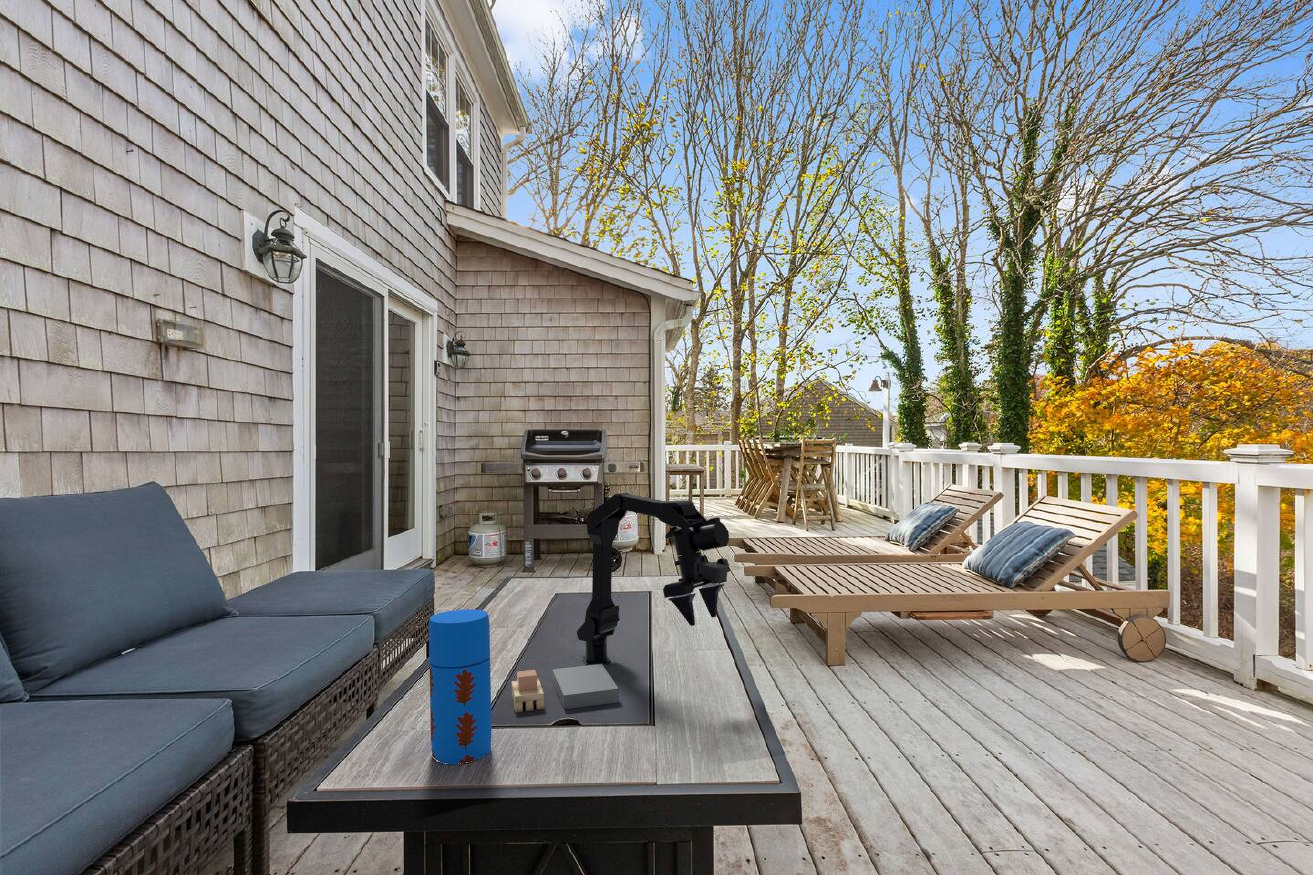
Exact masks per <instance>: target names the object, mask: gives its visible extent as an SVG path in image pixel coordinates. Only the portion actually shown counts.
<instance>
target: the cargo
mask: <svg viewBox="0 0 1313 875" xmlns="http://www.w3.org/2000/svg"><path fill="white" fill-rule="evenodd" d="M537 678H538V674H537V671H536V669H530V670H521V671H519V670H517V671H516V681H517V686H518V690H519V691H525V690H533V689H537Z"/></svg>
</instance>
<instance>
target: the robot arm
mask: <svg viewBox="0 0 1313 875" xmlns="http://www.w3.org/2000/svg"><path fill="white" fill-rule="evenodd" d="M628 512H632V513H636V514H641V515H645V516H650V517H654V518H656V519H657V520H659V521H660V522H662V523H663V524H666V525H667V526H670V528H669V529H668V531H667V532H666V534H665V536H664V537H665V539H670V538H672V539H673V543H674V549H675V552H676V558H677V560H675V561H674V565H675V567H676V566H679V571H680V575H681V578H678V581H675V582H674V581H673V582H672V583H668V584H665V585H664V586H663V589H662V593H663V598H664V599H666V598H668V599H667V600H668V601H669V602H672V604H673V605H674V606H675V608H676V609H677V610H678V611H679V613H680V614H681V616H683V618H684V619H685V620H686V622H687V623H688V624H689V626H691V627H693V626H695V625H696V619H695V610H694V604H693V601H694V599H695V596H696V594H697V593H694V590H695V589H696V588H698V591H699V594H700V596H701V598H702V600H703V603H704V604H705V606H706V609H707V612H708V614H709V615H710V617H711V618H716V617H717V612H718V611H717V610H718V599H719V593H720V591H721V589H722V588H723V587H725V583H726V582H728V580H727V579H728V578H727V577H728V573H729V572H731V568H730V563H729V561H728V559H727V558H723V557H721V558H718V559H717V560H716V561H709V558H708V556H707V555H706V554H702V551H709V550H715V549H719V548H724V547H727V546H728V544H729V542H730V535H729V534H730V532H729V530H728V529H727V527H726V525H725V524H724V523H723V522H722V521H721V519H720V517H719V516H717V517H713V518H708V520H707V518H705V517H704V515H703V514H702V513H700V511H699V510H698V509H697V508H696V505H695V503H694V502H693V501H691V500H688V499H686V500H685V499H683V500H682V499H681V500H661V499H656V498H655V499H654V498H649V497H645V496H640V495H635V494H630V492H620V493H615V494H613V495H612V496H610V498H608V499H607V500H606V501H605V502H604V503H602V504H600V505H598V506H597V507H596V508H595V509H594V510H591V511H590V512H589V513H588V514H587V515H586V520H585V522H586V532H587V535H588V537H589V539H590V540H591V543H592V577H591V578H592V582H591V583H592V584H591V586H592V587H591V592H592V593H591V600H590V601H589V604H588V606H587V608H586V610H585V615H584V616H585V617H584V622H583V624H581V625H580V626H579V628H578V630H576V635H577V638H578V639H577V640H579V641H583V642H584V646H585V647H584V649H585V650H584V652H585V656H582V661H583V662H584V664H585V666H588V665H596V664H602V665H605V664H610V663H612V660H611V659H610V657H609V656H608V637H609V636H613V635H614V633H615V630H616V628H617V627H618V622H619V621H620V616H619V615H620V614H619V612H620V605H616V604H615V603H614V600H613V599H612V581H613V580H612V576H613V574H612V569H613V565H612V564H613V544H614V541H615V539H616V537H617V535H618V533H619V528H620V522H621V521H622V520H623V519H624V518H625V517H626V515H627V514H628ZM691 528H692V529H691ZM699 587H701V588H699Z"/></svg>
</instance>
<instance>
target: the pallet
mask: <svg viewBox="0 0 1313 875" xmlns="http://www.w3.org/2000/svg"><path fill="white" fill-rule="evenodd" d="M544 695H545V693H544V690H543V688H542V685H541V682H540V680H539V678H538V677H537V689H533V690H525V691H519V690H518V686H517V680H513V681H511V698H512V703H513V709H514V712H515V713H521V712H524V711H523V705H524V707H525V711H526V712H528V711H529V712H530V711H534V704H535V709H536V710H545V700H544V699H545V697H544ZM523 703H524V704H523Z"/></svg>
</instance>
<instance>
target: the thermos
mask: <svg viewBox="0 0 1313 875" xmlns="http://www.w3.org/2000/svg"><path fill="white" fill-rule="evenodd" d="M490 630H491V628H490V618H489V612H488V611H486V610H483V609H473V608H472V609H471V608H470V609H469V608H467V609H456V610H454V609H453V610H447V611H443V612H440V613H436V614H433V615H431V616H430V618H429V625H428V646H429V647H428V649H429V651H428V652H429V654H428V655H429V656H428V657H429V662H428V663H429V709H430V710H429V711H430V744H431V756H433V757H434V758H435V759H436V760H438V761H440V762H442V763H448V764H458V763H459V765H461V764H460V763H465V764H467V763H466V762H470V763H472V762H471V761H474V760H476V759H479V758H481V759H483V758H484V757H485V756H484V755H486V756H487V755H488V754H489V753H490V751H491V749H492V685H491V684H492V682H491V681H492V680H491V634H490V633H491V631H490ZM483 756H484V757H483ZM482 757H483V758H482ZM479 760H480V759H479ZM476 761H477V760H476ZM474 762H475V761H474Z"/></svg>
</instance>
